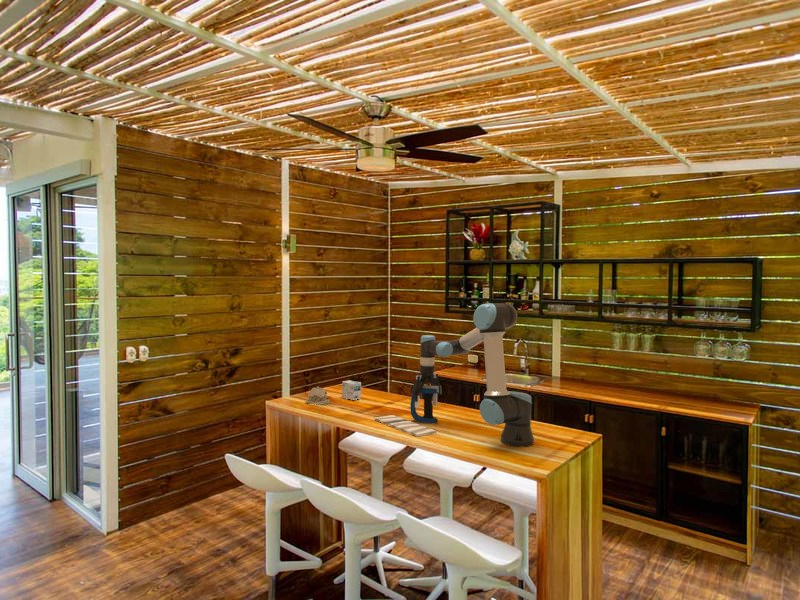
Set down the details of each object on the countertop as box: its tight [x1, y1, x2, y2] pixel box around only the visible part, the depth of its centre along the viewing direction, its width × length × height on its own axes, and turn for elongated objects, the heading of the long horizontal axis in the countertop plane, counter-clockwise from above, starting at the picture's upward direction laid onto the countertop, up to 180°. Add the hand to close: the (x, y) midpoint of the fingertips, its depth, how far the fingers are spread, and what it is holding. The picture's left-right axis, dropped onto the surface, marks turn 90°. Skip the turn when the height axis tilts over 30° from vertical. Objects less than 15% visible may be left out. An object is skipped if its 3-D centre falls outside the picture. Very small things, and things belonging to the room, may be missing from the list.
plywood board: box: [373, 414, 437, 438], centre depth 271 cm, size 36×12×1 cm, turn 37°
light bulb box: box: [341, 380, 362, 401], centre depth 331 cm, size 11×7×11 cm, turn 49°
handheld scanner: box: [410, 384, 443, 425], centre depth 281 cm, size 5×16×20 cm, turn 79°
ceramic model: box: [306, 386, 331, 406], centre depth 318 cm, size 14×11×10 cm
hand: (426, 406), depth 281 cm, fingers open, 11 cm apart
